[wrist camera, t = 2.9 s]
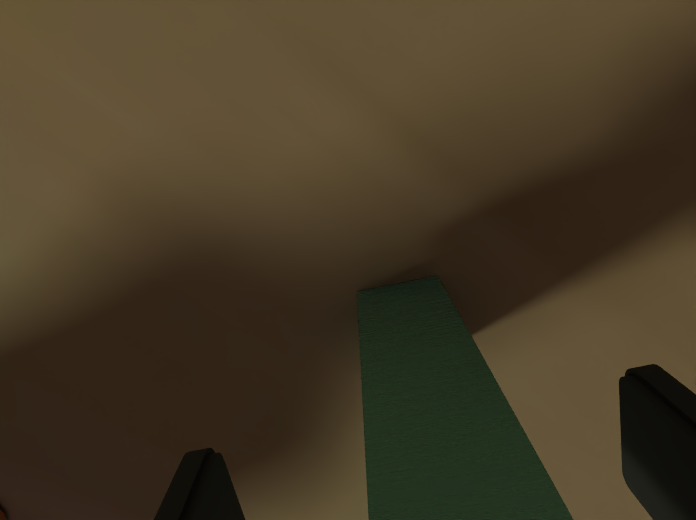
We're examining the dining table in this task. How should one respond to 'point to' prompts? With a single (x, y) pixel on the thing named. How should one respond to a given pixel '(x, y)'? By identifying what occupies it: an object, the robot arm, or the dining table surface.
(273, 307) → the dining table surface
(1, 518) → the whiskey bottle
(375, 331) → the scraper
